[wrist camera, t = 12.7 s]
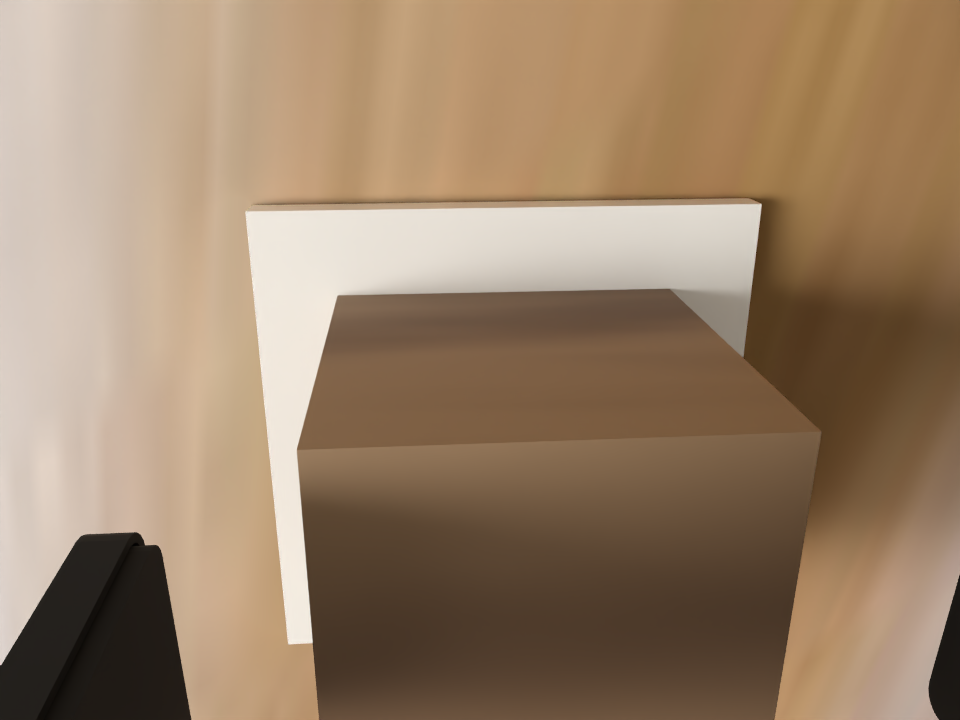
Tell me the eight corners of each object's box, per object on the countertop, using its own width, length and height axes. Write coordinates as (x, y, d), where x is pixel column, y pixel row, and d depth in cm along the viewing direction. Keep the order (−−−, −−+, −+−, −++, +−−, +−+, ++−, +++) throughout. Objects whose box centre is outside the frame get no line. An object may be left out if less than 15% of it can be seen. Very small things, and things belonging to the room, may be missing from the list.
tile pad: (251, 205, 15) (245, 211, 14) (749, 197, 15) (761, 203, 15) (292, 625, 18) (288, 644, 17) (701, 603, 19) (711, 621, 18)
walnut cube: (337, 295, 15) (296, 449, 9) (669, 288, 15) (821, 432, 10) (354, 580, 17) (329, 846, 11) (645, 566, 17) (758, 815, 12)
